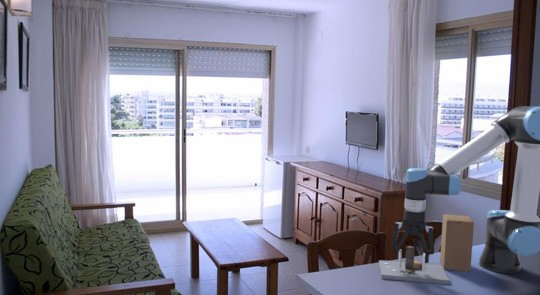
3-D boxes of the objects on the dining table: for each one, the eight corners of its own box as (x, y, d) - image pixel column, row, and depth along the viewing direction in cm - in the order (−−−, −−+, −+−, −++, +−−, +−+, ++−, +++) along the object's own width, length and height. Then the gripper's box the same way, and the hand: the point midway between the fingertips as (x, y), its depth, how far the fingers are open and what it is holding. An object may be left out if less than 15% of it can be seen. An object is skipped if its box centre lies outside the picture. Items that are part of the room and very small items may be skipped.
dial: (407, 261, 190) (408, 238, 189) (425, 264, 186) (426, 241, 185) (396, 272, 177) (398, 248, 176) (415, 276, 173) (417, 252, 172)
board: (441, 268, 187) (441, 264, 187) (449, 284, 172) (449, 279, 172) (378, 263, 191) (379, 259, 191) (381, 278, 176) (381, 274, 175)
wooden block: (470, 272, 184) (474, 221, 182) (443, 269, 186) (446, 220, 184) (465, 263, 194) (468, 215, 192) (439, 261, 196) (442, 213, 194)
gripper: (384, 208, 177) (381, 267, 180) (443, 215, 168) (439, 277, 171) (388, 204, 184) (385, 261, 186) (445, 211, 175) (441, 270, 178)
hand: (411, 268), depth 179 cm, fingers open, 8 cm apart
